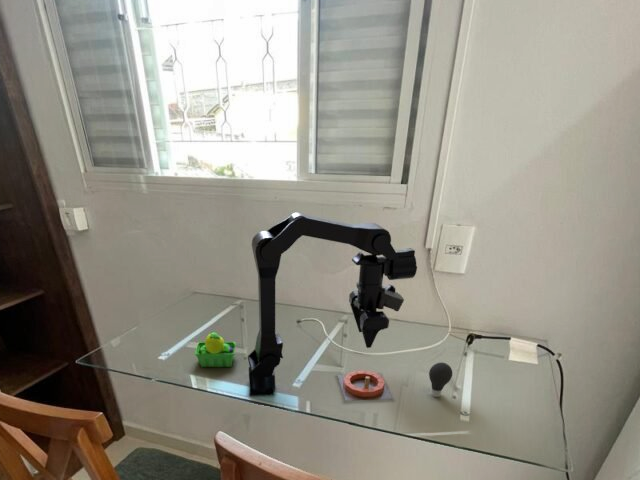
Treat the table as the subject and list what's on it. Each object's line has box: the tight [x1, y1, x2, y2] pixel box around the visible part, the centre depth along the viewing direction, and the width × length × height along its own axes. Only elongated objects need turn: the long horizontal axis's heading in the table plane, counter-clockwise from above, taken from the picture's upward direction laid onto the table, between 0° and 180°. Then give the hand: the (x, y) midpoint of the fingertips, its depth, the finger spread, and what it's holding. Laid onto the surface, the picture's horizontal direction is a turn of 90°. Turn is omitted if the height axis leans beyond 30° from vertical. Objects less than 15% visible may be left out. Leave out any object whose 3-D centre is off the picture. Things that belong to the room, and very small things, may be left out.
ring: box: [343, 370, 386, 397], centre depth 113 cm, size 11×11×2 cm
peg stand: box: [337, 373, 393, 402], centre depth 112 cm, size 12×13×5 cm
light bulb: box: [428, 362, 453, 398], centre depth 107 cm, size 6×6×10 cm
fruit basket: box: [194, 332, 236, 368], centre depth 121 cm, size 11×9×11 cm
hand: (364, 339), depth 110 cm, fingers open, 9 cm apart
